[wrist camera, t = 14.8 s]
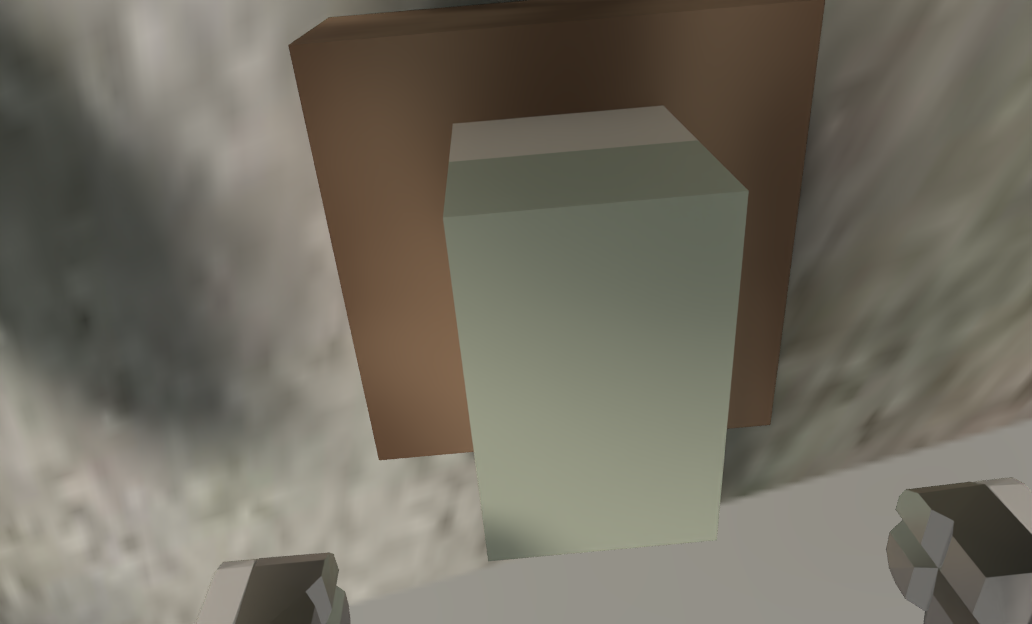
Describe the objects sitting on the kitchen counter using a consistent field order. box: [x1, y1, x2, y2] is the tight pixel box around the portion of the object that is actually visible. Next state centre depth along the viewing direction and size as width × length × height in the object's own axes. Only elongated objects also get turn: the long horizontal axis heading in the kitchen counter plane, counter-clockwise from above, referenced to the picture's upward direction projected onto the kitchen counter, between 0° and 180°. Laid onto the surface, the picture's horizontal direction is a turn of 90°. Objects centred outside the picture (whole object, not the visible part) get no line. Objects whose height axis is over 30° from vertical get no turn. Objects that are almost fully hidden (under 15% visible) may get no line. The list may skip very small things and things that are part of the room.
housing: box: [443, 106, 749, 561], centre depth 16 cm, size 8×5×6 cm, turn 4°
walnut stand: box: [288, 0, 825, 460], centre depth 21 cm, size 12×12×5 cm
